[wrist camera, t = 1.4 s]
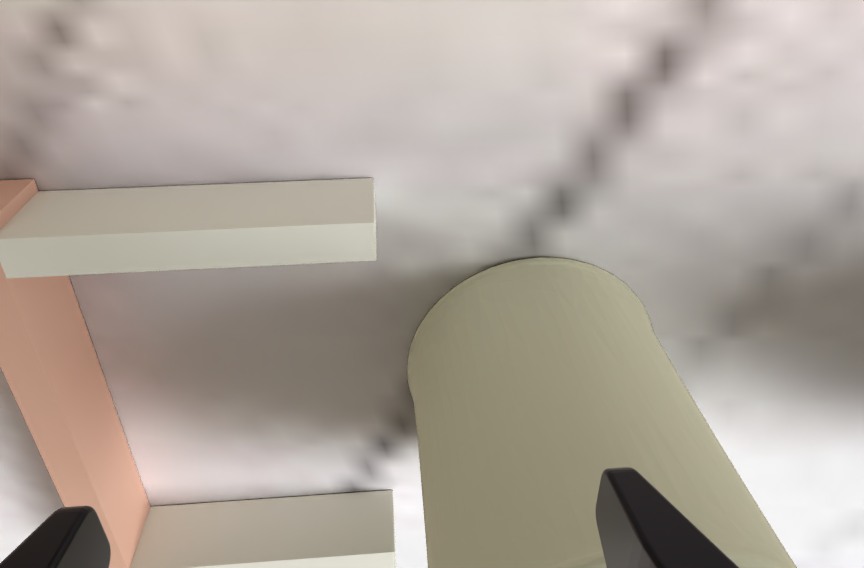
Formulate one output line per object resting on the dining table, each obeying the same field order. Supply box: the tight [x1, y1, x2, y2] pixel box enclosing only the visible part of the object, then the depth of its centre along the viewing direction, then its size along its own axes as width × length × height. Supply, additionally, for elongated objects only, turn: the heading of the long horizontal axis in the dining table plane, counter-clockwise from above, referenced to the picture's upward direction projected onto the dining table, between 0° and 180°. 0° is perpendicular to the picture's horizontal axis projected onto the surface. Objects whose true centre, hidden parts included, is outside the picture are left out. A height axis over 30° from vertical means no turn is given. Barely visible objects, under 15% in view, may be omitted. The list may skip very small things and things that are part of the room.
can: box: [407, 258, 797, 568], centre depth 20 cm, size 9×9×12 cm
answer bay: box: [0, 178, 396, 568], centre depth 23 cm, size 11×16×3 cm
